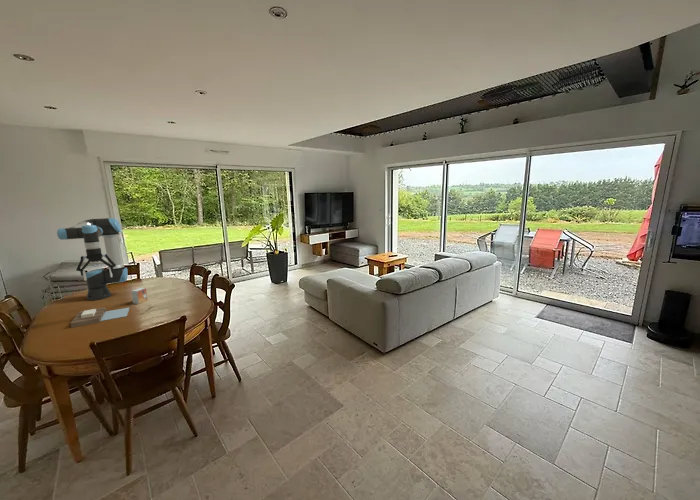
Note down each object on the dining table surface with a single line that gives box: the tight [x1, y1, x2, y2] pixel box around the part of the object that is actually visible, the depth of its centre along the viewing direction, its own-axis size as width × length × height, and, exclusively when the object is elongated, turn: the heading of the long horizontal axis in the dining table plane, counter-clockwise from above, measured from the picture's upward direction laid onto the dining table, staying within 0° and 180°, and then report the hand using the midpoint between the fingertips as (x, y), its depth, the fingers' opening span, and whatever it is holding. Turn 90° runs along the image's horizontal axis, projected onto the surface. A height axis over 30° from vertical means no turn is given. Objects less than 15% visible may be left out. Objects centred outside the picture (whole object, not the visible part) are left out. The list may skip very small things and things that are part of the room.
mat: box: [100, 307, 130, 322], centre depth 201 cm, size 18×14×1 cm
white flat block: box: [81, 308, 97, 318], centre depth 193 cm, size 9×6×2 cm, turn 32°
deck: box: [70, 306, 107, 329], centre depth 193 cm, size 22×14×3 cm, turn 32°
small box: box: [130, 287, 149, 305], centre depth 222 cm, size 8×6×10 cm
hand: (98, 278), depth 194 cm, fingers open, 13 cm apart
